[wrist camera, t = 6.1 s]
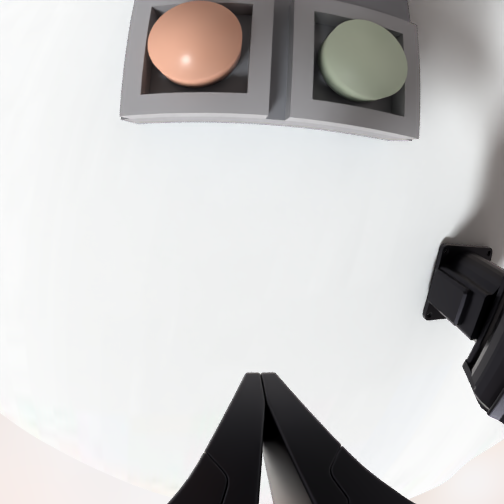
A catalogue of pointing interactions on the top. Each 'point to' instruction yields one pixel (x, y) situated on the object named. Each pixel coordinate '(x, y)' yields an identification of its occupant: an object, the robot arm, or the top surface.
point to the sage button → (362, 61)
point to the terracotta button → (196, 43)
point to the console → (275, 71)
